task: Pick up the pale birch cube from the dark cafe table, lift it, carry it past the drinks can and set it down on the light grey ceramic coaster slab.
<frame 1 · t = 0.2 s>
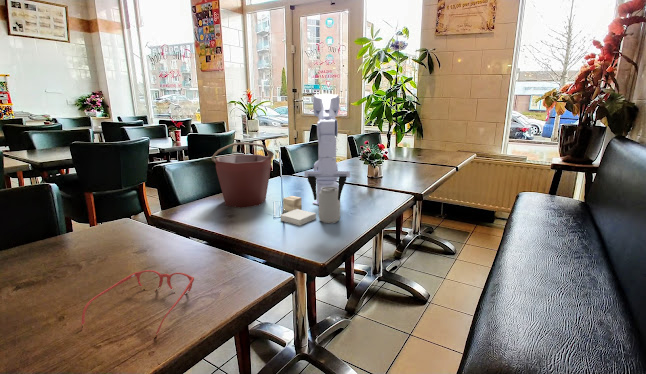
hand: (327, 199, 112), 11 cm above the table, tool pointing down, fingers open, 7 cm apart
bucket: (245, 202, 146), on the table
red eyeglasses: (145, 312, 71), on the table
can: (329, 221, 124), on the table
cube: (292, 210, 136), on the table
coaster: (298, 219, 125), on the table
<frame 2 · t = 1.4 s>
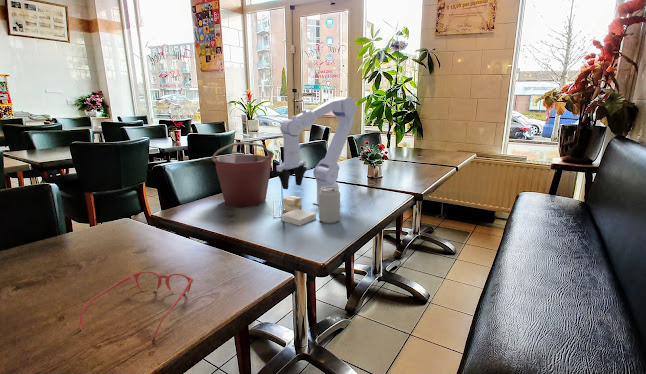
hand: (292, 187, 134), 9 cm above the table, tool pointing down, fingers open, 7 cm apart
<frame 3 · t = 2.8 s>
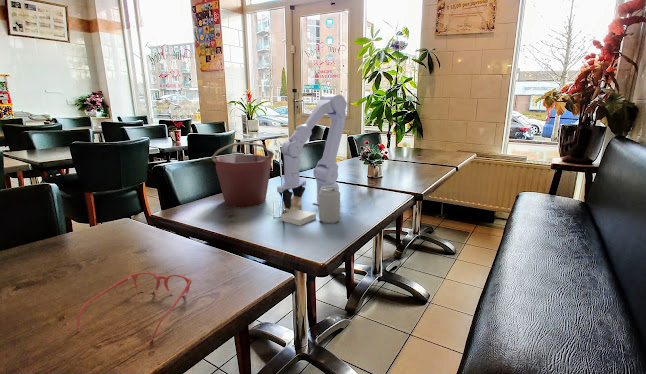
hand: (292, 206, 136), 1 cm above the table, tool pointing down, fingers closed on cube, 5 cm apart
cube: (292, 210, 136), on the table, touching gripper
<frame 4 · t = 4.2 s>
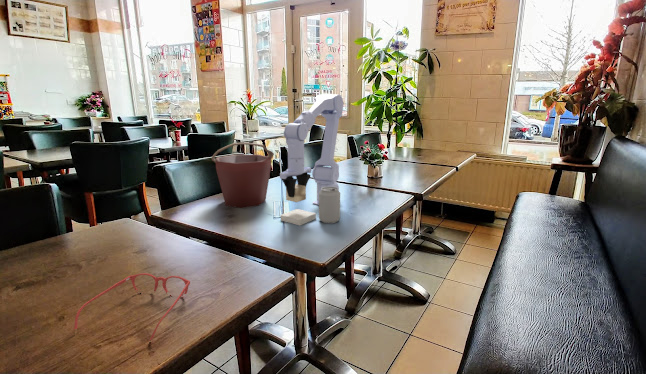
hand: (296, 195, 125), 9 cm above the table, tool pointing down, fingers closed on cube, 5 cm apart
cube: (296, 199, 126), point 7 cm above the table, touching gripper
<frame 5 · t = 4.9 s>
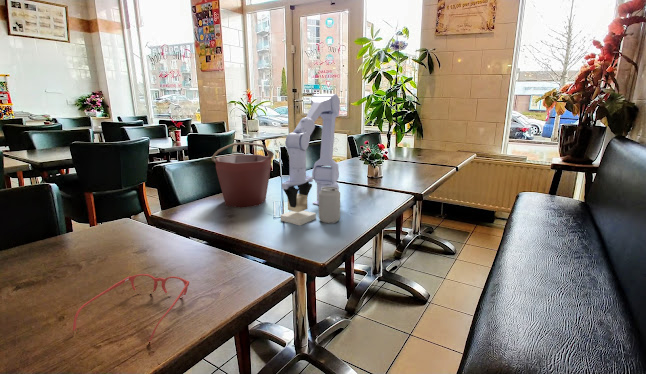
hand: (298, 204, 124), 5 cm above the table, tool pointing down, fingers closed on cube, 5 cm apart
cube: (297, 209, 124), point 4 cm above the table, touching gripper
when the fingers open (5 cm above the table, at t = 5.6 s): cube stays where it is, resting on coaster.
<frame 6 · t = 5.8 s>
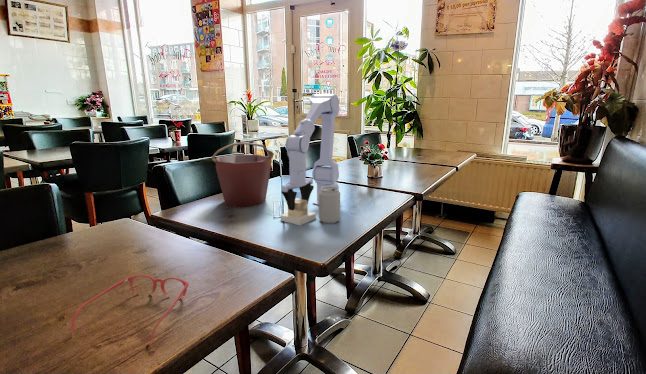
hand: (298, 207, 124), 5 cm above the table, tool pointing down, fingers open, 7 cm apart
cube: (297, 214, 125), point 2 cm above the table, touching coaster
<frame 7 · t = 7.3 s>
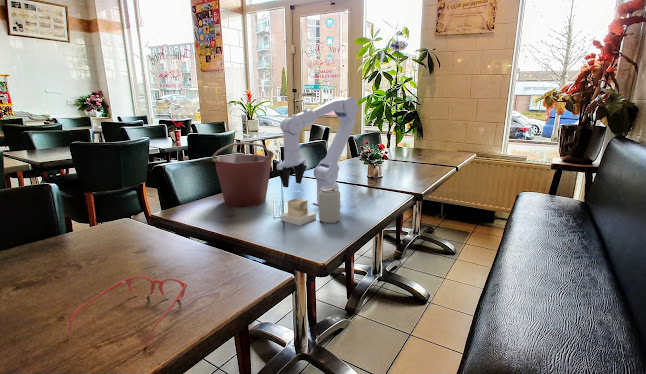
hand: (292, 185, 134), 10 cm above the table, tool pointing down, fingers open, 7 cm apart
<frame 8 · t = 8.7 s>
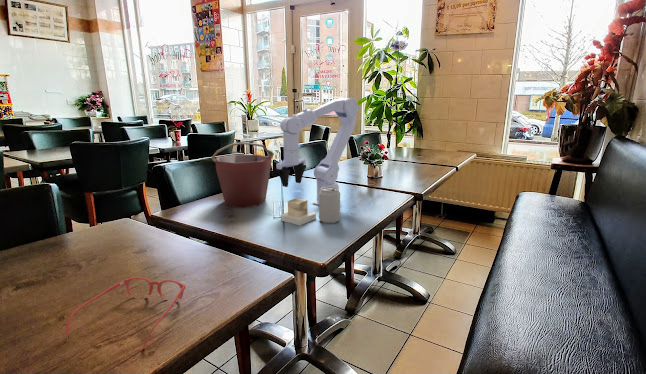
hand: (291, 184, 135), 10 cm above the table, tool pointing down, fingers open, 7 cm apart
at the end: cube inside the target area on the coaster (0.2 cm from its centre), point 2.0 cm above the coaster's base; cube tilted 0°; the gripper is holding nothing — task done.
